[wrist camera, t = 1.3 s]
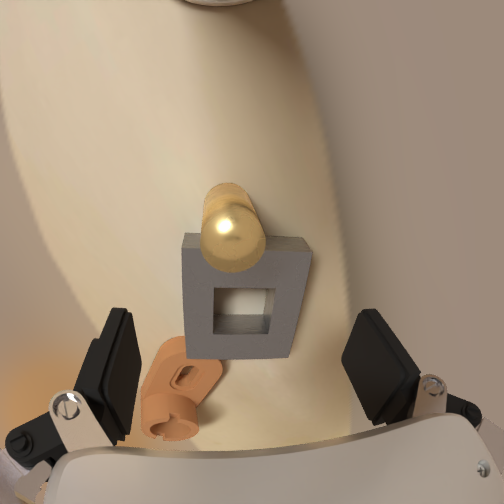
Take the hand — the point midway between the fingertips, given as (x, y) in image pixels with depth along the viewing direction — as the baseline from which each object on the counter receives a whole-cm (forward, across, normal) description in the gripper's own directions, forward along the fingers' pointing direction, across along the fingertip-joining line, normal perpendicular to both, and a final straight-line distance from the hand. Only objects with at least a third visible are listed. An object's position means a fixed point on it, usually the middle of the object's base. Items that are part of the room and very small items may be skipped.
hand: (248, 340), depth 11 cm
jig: (+18, -2, +10) cm, 21 cm away
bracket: (+19, +6, +25) cm, 32 cm away
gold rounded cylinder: (+18, 0, 0) cm, 18 cm away
